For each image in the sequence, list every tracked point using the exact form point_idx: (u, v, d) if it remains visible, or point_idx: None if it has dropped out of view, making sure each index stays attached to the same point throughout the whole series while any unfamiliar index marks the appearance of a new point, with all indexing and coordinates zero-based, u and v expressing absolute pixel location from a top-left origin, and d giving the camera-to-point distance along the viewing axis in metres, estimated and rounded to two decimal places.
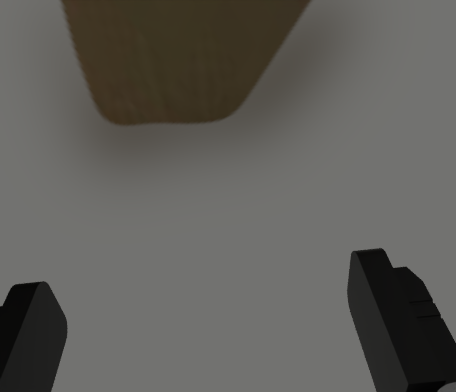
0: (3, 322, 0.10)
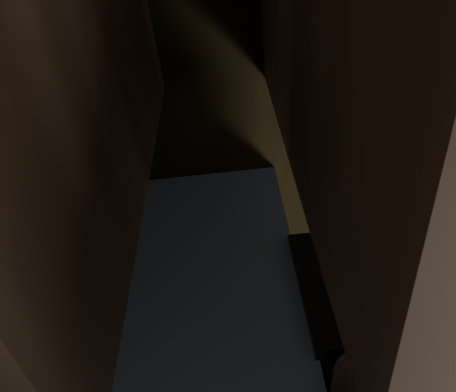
0: None
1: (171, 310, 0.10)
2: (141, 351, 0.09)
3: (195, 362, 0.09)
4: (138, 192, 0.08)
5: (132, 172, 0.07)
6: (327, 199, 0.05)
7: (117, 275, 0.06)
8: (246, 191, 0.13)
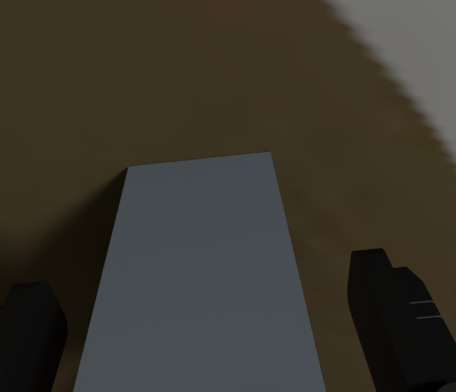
0: (3, 322, 0.10)
1: (173, 280, 0.11)
2: (146, 315, 0.10)
3: (195, 324, 0.10)
4: None
5: None
6: None
7: None
8: (243, 173, 0.14)
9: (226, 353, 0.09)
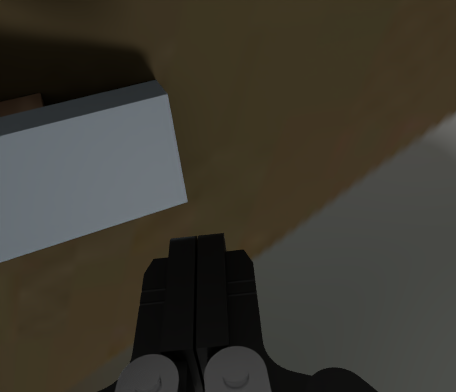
0: (176, 269, 0.11)
1: (30, 180, 0.15)
2: None
3: None
4: None
5: None
6: None
7: None
8: (156, 191, 0.18)
9: None
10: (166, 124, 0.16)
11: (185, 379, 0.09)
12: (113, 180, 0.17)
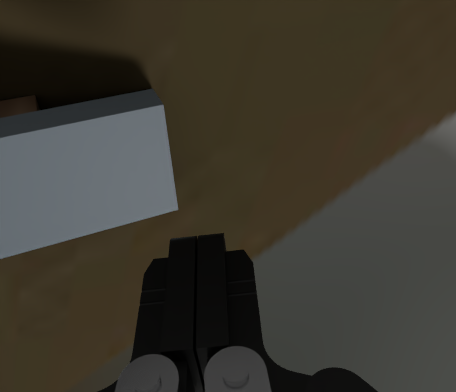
0: (175, 269, 0.11)
1: (23, 183, 0.16)
2: None
3: None
4: None
5: None
6: None
7: None
8: (148, 198, 0.18)
9: None
10: (160, 134, 0.17)
11: (185, 379, 0.09)
12: (105, 186, 0.17)
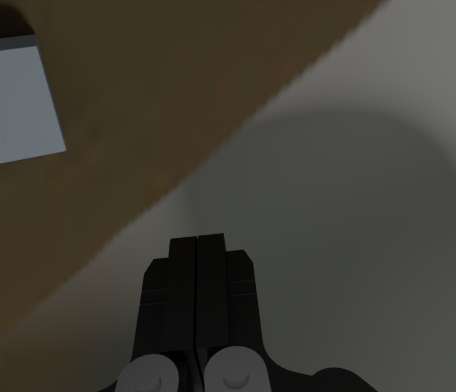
0: (175, 269, 0.11)
1: None
2: None
3: None
4: None
5: None
6: None
7: None
8: (33, 137, 0.20)
9: None
10: (38, 74, 0.18)
11: (185, 379, 0.09)
12: None
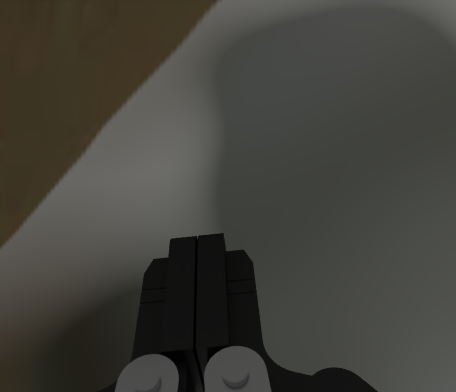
0: (175, 269, 0.11)
1: None
2: None
3: None
4: None
5: None
6: None
7: None
8: None
9: None
10: None
11: (185, 380, 0.09)
12: None
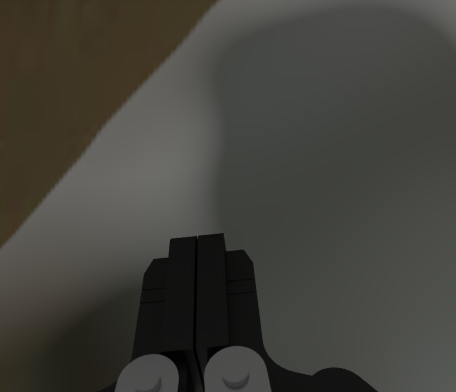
0: (175, 269, 0.11)
1: None
2: None
3: None
4: None
5: None
6: None
7: None
8: None
9: None
10: None
11: (185, 380, 0.09)
12: None
